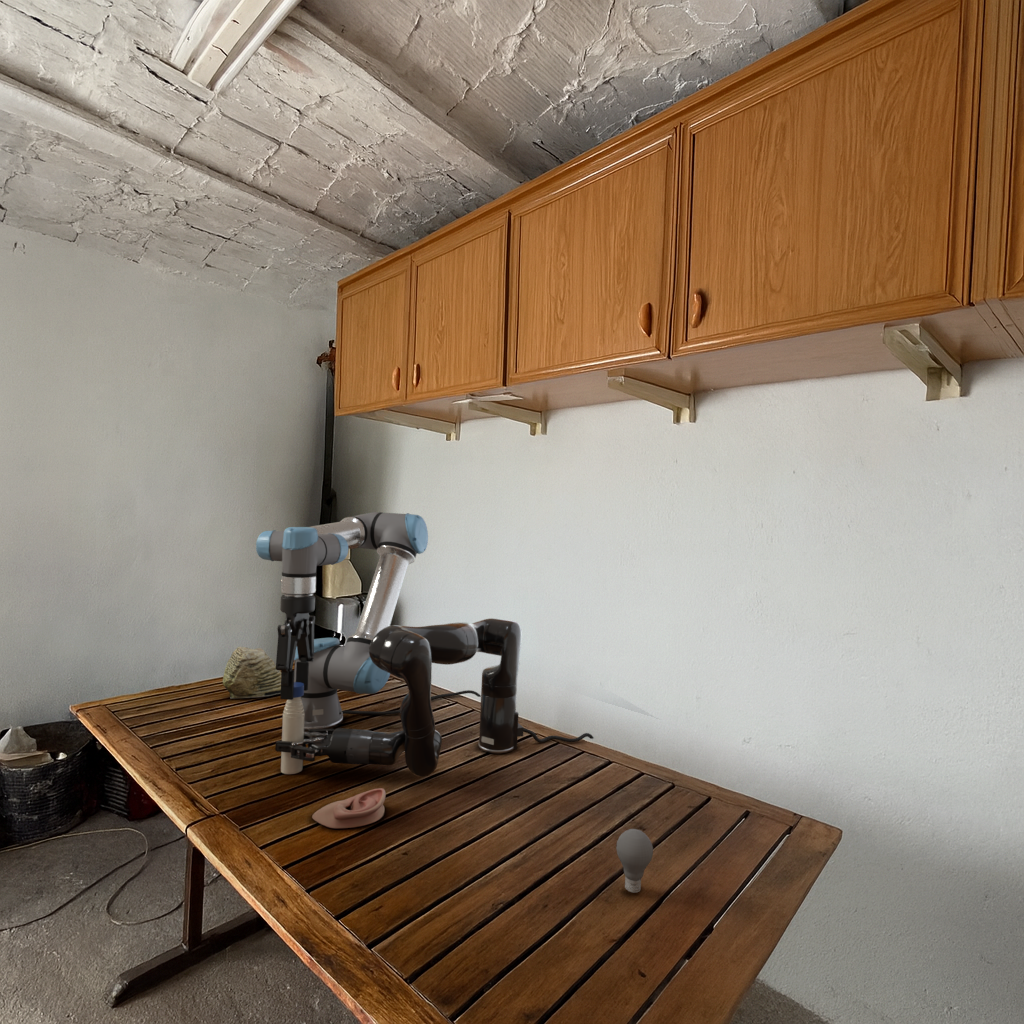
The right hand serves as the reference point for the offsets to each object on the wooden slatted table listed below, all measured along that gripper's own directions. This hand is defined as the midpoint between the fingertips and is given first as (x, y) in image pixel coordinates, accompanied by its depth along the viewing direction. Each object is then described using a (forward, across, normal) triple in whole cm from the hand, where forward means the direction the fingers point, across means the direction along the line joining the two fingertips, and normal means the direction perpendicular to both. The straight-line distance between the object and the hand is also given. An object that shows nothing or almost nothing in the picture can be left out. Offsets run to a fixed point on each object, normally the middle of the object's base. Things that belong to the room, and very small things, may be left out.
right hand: (281, 741), depth 146 cm
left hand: (-3, 0, -11) cm, 12 cm away
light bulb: (-76, +36, +6) cm, 84 cm away
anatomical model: (-22, +19, +6) cm, 30 cm away
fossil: (+30, -50, +6) cm, 59 cm away
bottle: (-3, 0, +6) cm, 7 cm away
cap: (-3, 0, -13) cm, 13 cm away
